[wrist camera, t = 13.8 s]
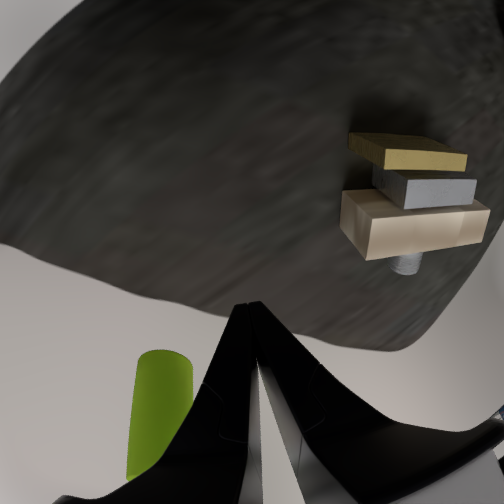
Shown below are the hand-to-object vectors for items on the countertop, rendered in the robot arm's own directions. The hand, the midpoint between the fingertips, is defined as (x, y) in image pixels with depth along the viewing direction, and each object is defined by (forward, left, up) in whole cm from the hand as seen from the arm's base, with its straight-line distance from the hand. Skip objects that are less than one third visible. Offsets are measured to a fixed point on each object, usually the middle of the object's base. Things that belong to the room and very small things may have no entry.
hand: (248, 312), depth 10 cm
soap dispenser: (+19, -9, -12) cm, 24 cm away
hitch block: (+3, +14, -12) cm, 19 cm away
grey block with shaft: (+4, +14, -12) cm, 19 cm away
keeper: (-3, +12, -12) cm, 17 cm away
